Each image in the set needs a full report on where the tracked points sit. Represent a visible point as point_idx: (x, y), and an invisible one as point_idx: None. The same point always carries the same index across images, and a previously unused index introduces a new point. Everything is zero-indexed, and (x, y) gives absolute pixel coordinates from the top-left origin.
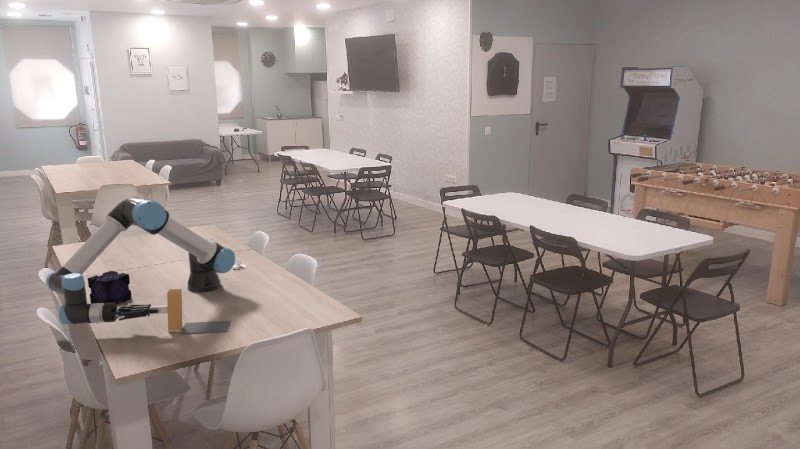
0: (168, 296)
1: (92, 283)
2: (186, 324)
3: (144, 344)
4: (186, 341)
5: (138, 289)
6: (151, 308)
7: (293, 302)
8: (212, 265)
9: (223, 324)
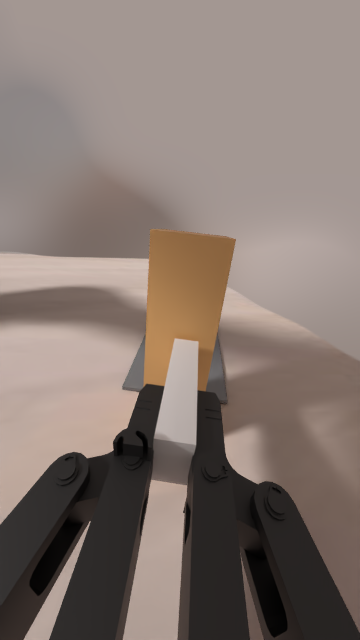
0: (229, 266)
1: None
2: (141, 383)
3: None
4: (281, 386)
5: None
6: (196, 433)
7: (109, 269)
8: None
9: None
